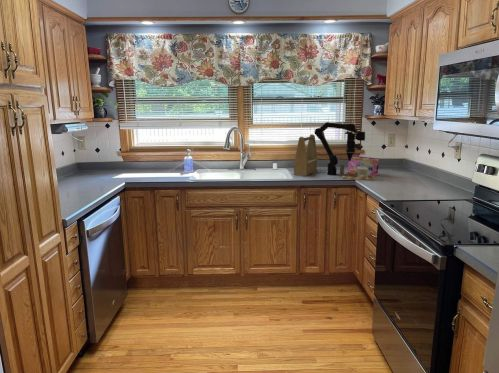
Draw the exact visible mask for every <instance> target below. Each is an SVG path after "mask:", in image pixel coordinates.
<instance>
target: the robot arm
mask: <svg viewBox="0 0 499 373" xmlns="http://www.w3.org/2000/svg"><path fill="white" fill-rule="evenodd" d="M328 128H331V129H341V130H345V131H346V132H344V134H345V135H347V136H346V138H347V139H346V146H345V152H346V155H347V159H348V162H349V161H351V158H352V156H354V154H355V153H356V150H359V151H362V148H363V146H362V145H361V143H356V141H355V140H357V141H363V142H365V141H366V131H359V130H358V129H357V125H356V124H355V123H353V122H352V123H339V122H337V123H336V122H329V121H326V122H325V123H324V124H322V125H321V126H320V127H318V128H315V129H314V136H315V137H317V138H318V139H319V140H320V142H321V144H322V146H323V148H324V150H325V151H326V154H327V155H328V158H329V163H328V164H327V173H326V174H327V175H328V176H329V175H330V176H336V175H337V173H338V172H337V170H338V169H337V165H338V164H339V163H340V157H339V156H338V154H335V153H334V152H333V150H332V148H331V146H330V144H329V141H328V140H327V139H326V136H325V131H326V130H327V129H328Z"/></svg>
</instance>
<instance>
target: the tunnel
mask: <svg viewBox="0 0 499 373" xmlns="http://www.w3.org/2000/svg"><path fill="white" fill-rule="evenodd" d="M357 173H358V178H359V175H366V178H368V168H367V167H362V166H357Z"/></svg>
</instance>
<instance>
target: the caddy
mask: <svg viewBox="0 0 499 373" xmlns="http://www.w3.org/2000/svg"><path fill="white" fill-rule="evenodd" d="M306 141H308V143H307V146H306ZM316 143H317V142H316V135H315V134H310V135H309V136H306V137H304V136H299V137H298V141H297V146H296V152H295V155H294V163H293V175H294V176H301V177H306V176H309V175H310V174H313V173H315V172H316V171H317V168H318V152H317V145H316Z"/></svg>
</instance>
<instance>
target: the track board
mask: <svg viewBox="0 0 499 373" xmlns="http://www.w3.org/2000/svg"><path fill="white" fill-rule="evenodd" d="M341 178H342V180H359V181H374V178H373V176H372V175H368V178H366V175H359V178H358V177H354V176H348V175H341Z"/></svg>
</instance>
